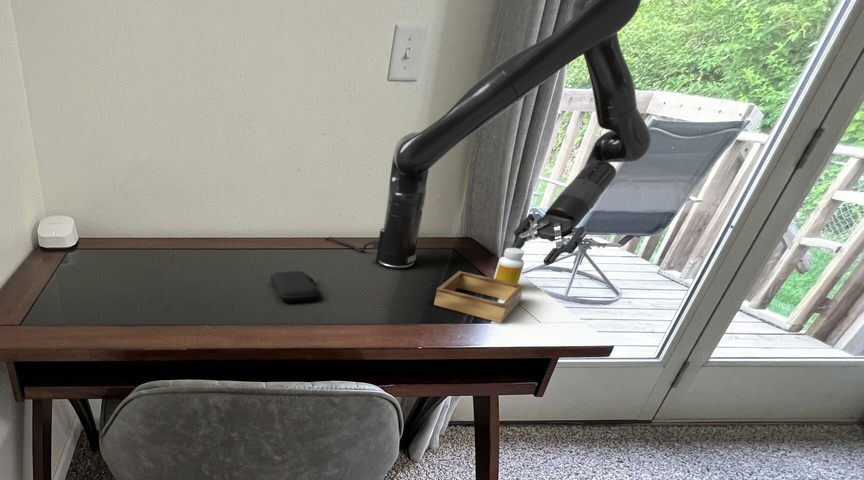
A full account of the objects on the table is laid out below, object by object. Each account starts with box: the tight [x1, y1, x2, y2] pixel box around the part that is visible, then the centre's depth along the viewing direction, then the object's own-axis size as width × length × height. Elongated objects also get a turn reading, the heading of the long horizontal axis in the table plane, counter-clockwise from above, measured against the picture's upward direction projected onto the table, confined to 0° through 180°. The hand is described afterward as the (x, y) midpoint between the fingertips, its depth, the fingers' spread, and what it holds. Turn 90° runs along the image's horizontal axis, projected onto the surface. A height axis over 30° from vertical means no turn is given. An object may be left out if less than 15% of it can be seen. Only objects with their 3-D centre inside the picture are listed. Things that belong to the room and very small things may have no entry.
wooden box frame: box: [433, 270, 526, 324], centre depth 110 cm, size 15×14×4 cm
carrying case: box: [270, 270, 319, 303], centre depth 119 cm, size 11×3×15 cm
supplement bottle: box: [493, 247, 525, 284], centre depth 115 cm, size 5×5×10 cm
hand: (528, 258), depth 116 cm, fingers open, 8 cm apart
